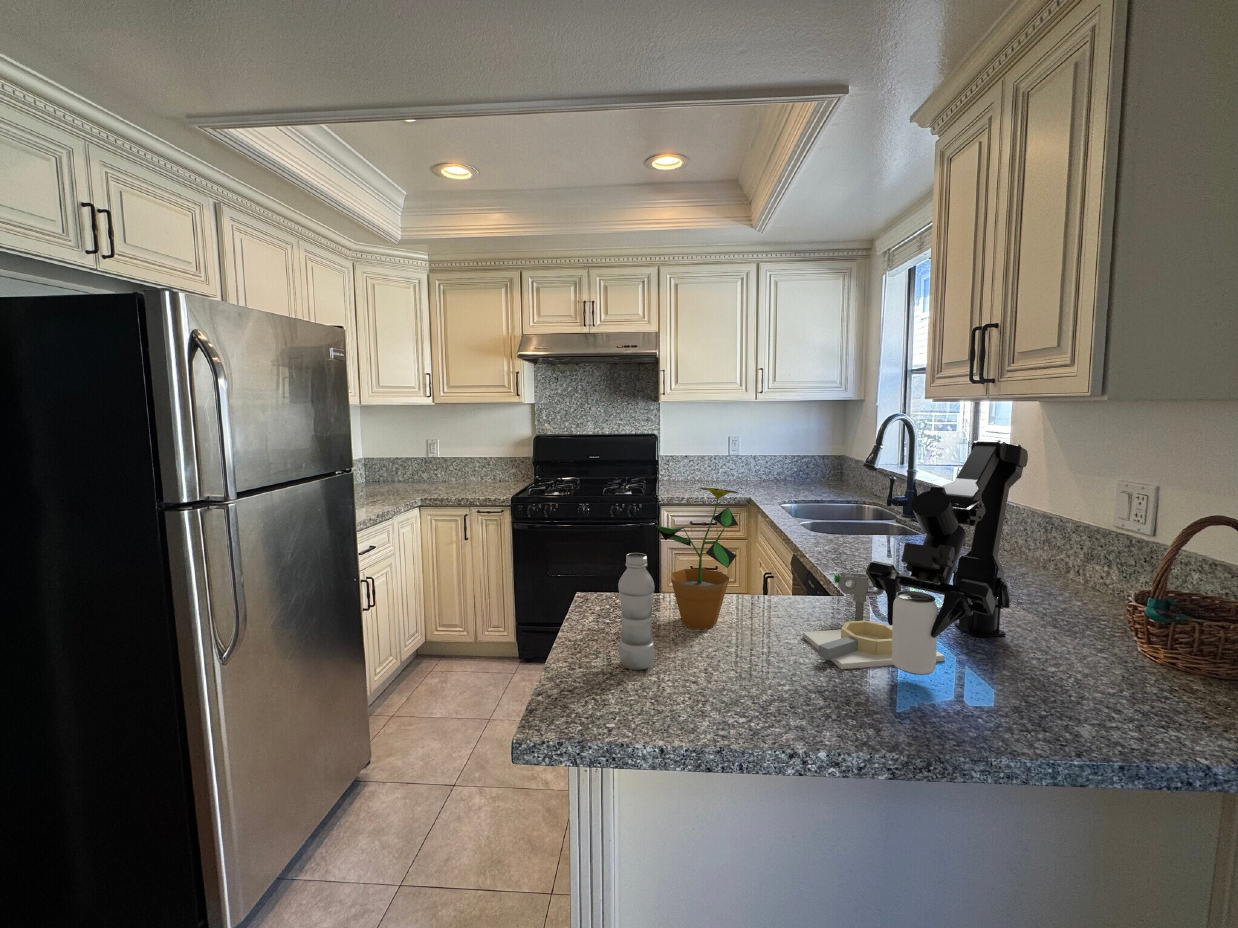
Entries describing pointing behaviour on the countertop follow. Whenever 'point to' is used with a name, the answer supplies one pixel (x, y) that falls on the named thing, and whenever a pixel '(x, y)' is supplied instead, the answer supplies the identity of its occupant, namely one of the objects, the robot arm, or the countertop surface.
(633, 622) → the plastic bottle
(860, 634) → the octagonal ring fixture plate
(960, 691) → the countertop surface
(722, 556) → the potted plant
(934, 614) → the can
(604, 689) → the countertop surface
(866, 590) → the mechanical component
